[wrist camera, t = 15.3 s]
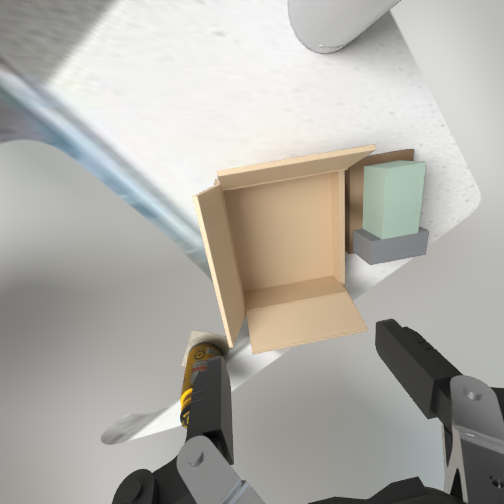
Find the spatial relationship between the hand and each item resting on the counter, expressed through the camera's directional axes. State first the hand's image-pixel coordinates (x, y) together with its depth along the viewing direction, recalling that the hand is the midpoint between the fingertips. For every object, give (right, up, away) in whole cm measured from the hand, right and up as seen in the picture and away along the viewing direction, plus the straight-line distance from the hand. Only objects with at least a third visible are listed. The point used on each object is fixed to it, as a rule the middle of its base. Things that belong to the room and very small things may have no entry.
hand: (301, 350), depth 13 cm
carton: (+2, +8, +25) cm, 27 cm away
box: (+16, +11, +24) cm, 31 cm away
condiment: (-11, -13, +33) cm, 37 cm away
